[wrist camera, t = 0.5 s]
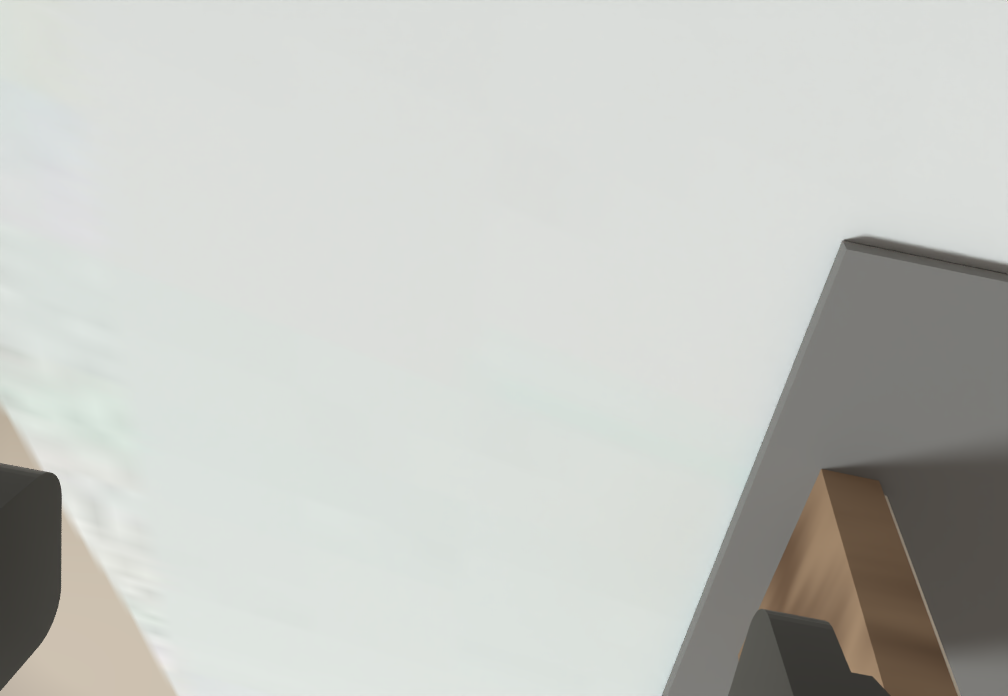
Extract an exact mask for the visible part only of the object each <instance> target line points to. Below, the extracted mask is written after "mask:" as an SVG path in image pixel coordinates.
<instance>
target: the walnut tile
mask: <svg viewBox="0 0 1008 696" xmlns="http://www.w3.org/2000/svg"><path fill="white" fill-rule="evenodd" d="M760 609H766V610H771V611H777V612H782V613H787V614H793V615H798V616H803V617H809V618H814V619H819V620H825V621H827V622H829V623H830V624H831V626H832V628H833V630H834V632H835V634H836V637H837V639H838V642H839V644H840V646H841V649H842V651H843V654H844V656H845V659H846V661H847V663H848V666H849V668H850V671H851V672H852V673H858V674H863V675H868V676H873V677H874V678H875V679H876V681H877V682H878V683H879V684H880V685H881V686H882V687H883V688H884V689H885V690H886V691H887V692H888V693H889V694H890V696H961V695H960V692H959V689H958V687H957V684H956V681H955V679H954V676H953V673H952V670H951V668H950V665H949V662H948V660H947V657H946V654H945V651H944V649H943V646H942V643H941V641H940V638H939V635H938V633H937V630H936V627H935V624H934V622H933V619H932V616H931V614H930V611H929V608H928V605H927V603H926V600H925V597H924V595H923V592H922V589H921V587H920V584H919V581H918V578H917V576H916V573H915V570H914V568H913V565H912V562H911V559H910V557H909V554H908V551H907V549H906V546H905V543H904V541H903V538H902V535H901V532H900V530H899V527H898V524H897V522H896V519H895V516H894V513H893V511H892V508H891V505H890V503H889V500H888V497H887V496H886V495H884V493H883V490H882V487H881V485H880V482H879V481H877V480H873V479H868V478H863V477H858V476H853V475H848V474H844V473H839V472H834V471H829V470H824V469H821V470H820V473H819V475H818V477H817V479H816V482H815V484H814V486H813V488H812V491H811V493H810V495H809V497H808V500H807V502H806V504H805V506H804V508H803V511H802V513H801V515H800V517H799V520H798V522H797V524H796V526H795V529H794V531H793V533H792V535H791V538H790V540H789V542H788V544H787V547H786V549H785V551H784V553H783V556H782V558H781V560H780V562H779V564H778V567H777V569H776V571H775V573H774V576H773V578H772V580H771V582H770V585H769V587H768V589H767V591H766V594H765V596H764V598H763V600H762V603H761V605H760V607H759V609H758V610H760ZM745 639H746V638H745ZM744 642H745V641H744ZM743 646H744V643H743V645H742V647H741V650H740V652H739V654H738V660H739V658H740V655H741V652H742V649H743Z"/></svg>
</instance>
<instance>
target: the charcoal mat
mask: <svg viewBox="0 0 1008 696" xmlns="http://www.w3.org/2000/svg"><path fill="white" fill-rule="evenodd" d="M821 469H824V470H829V471H834V472H839V473H844V474H848V475H853V476H858V477H863V478H868V479H873V480H877V481H879V482H880V485H881V487H882V490H883V493H884V495H886V496H887V497H888V500H889V503H890V505H891V508H892V511H893V513H894V516H895V519H896V522H897V524H898V527H899V530H900V532H901V535H902V538H903V541H904V543H905V546H906V549H907V551H908V554H909V557H910V559H911V562H912V565H913V568H914V570H915V573H916V576H917V578H918V581H919V584H920V587H921V589H922V592H923V595H924V597H925V600H926V603H927V605H928V608H929V611H930V614H931V616H932V619H933V622H934V624H935V627H936V630H937V633H938V635H939V638H940V641H941V643H942V646H943V649H944V651H945V654H946V657H947V660H948V662H949V665H950V668H951V670H952V673H953V676H954V679H955V681H956V684H957V687H958V689H959V692H960V695H961V696H1008V274H1003V273H999V272H994V271H989V270H984V269H979V268H974V267H969V266H964V265H960V264H955V263H950V262H945V261H940V260H935V259H930V258H925V257H920V256H916V255H911V254H906V253H901V252H896V251H891V250H886V249H881V248H876V247H872V246H867V245H862V244H857V243H852V242H847V241H842V243H841V245H840V248H839V251H838V253H837V256H836V258H835V261H834V263H833V266H832V268H831V271H830V273H829V276H828V278H827V281H826V283H825V286H824V288H823V291H822V293H821V296H820V298H819V301H818V303H817V306H816V309H815V311H814V314H813V316H812V319H811V321H810V324H809V326H808V329H807V331H806V334H805V336H804V339H803V341H802V344H801V346H800V349H799V351H798V354H797V356H796V359H795V361H794V364H793V366H792V369H791V372H790V374H789V377H788V379H787V382H786V384H785V387H784V389H783V392H782V394H781V397H780V399H779V402H778V404H777V407H776V409H775V412H774V414H773V417H772V419H771V422H770V424H769V427H768V430H767V432H766V435H765V437H764V440H763V442H762V445H761V447H760V450H759V452H758V455H757V457H756V460H755V462H754V465H753V467H752V470H751V472H750V475H749V477H748V480H747V482H746V485H745V487H744V490H743V493H742V495H741V498H740V500H739V503H738V505H737V508H736V510H735V513H734V515H733V518H732V520H731V523H730V525H729V528H728V530H727V533H726V535H725V538H724V540H723V543H722V545H721V548H720V551H719V553H718V556H717V558H716V561H715V563H714V566H713V568H712V571H711V573H710V576H709V578H708V581H707V583H706V586H705V588H704V591H703V593H702V596H701V598H700V601H699V603H698V606H697V608H696V611H695V614H694V616H693V619H692V621H691V624H690V626H689V629H688V631H687V634H686V636H685V639H684V641H683V644H682V646H681V649H680V651H679V654H678V656H677V659H676V661H675V664H674V666H673V669H672V672H671V674H670V677H669V679H668V682H667V684H666V687H665V689H664V692H663V694H662V696H728V694H729V691H730V688H731V684H732V681H733V678H734V675H735V671H736V668H737V665H738V662H739V660H738V654H739V652H740V650H741V647H742V645H743V643H744V641H745V638H746V636H747V633H748V629H749V626H750V623H751V621H752V619H753V617H754V615H755V613H756V612H757V611H758V609H759V607H760V605H761V603H762V600H763V598H764V596H765V594H766V591H767V589H768V587H769V585H770V582H771V580H772V578H773V576H774V573H775V571H776V569H777V567H778V564H779V562H780V560H781V558H782V556H783V553H784V551H785V549H786V547H787V544H788V542H789V540H790V538H791V535H792V533H793V531H794V529H795V526H796V524H797V522H798V520H799V517H800V515H801V513H802V511H803V508H804V506H805V504H806V502H807V500H808V497H809V495H810V493H811V491H812V488H813V486H814V484H815V482H816V479H817V477H818V475H819V473H820V470H821Z"/></svg>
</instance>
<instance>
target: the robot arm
mask: <svg viewBox="0 0 1008 696" xmlns="http://www.w3.org/2000/svg"><path fill="white" fill-rule="evenodd" d="M61 506H62V495H61V486H60V482H59V479H58V478H57V476H56V475H54V474H53V473H50V472H45V471H39V470H34V469H29V468H23V467H18V466H13V465H7V464H2V463H0V691H1V690H2V688H3V687H4V686H5V685H6V684H7V683H8V681H9V680H10V679H11V678H12V677H13V675H15V673H16V672H17V671H18V670H19V669H20V668H21V666H22V665H23V664H24V663H25V662H26V661H27V659H28V658H29V657H30V656H31V655H32V654H33V652H34V651H35V650H36V649H37V648H38V647H39V645H40V644H41V643H42V641H43V640H44V638H45V637H46V635H47V633H48V631H49V629H50V627H51V625H52V623H53V620H54V617H55V615H56V612H57V608H58V604H59V600H60V593H61ZM728 696H890V694H889V693H888V692H887V691H886V690H885V689H884V688H883V687H882V686H881V685H880V684H879V683H878V682H877V681H876V679H875V678H874V677H873V676H868V675H863V674H858V673H852V672H851V671H850V668H849V666H848V663H847V661H846V659H845V656H844V654H843V651H842V649H841V646H840V644H839V642H838V639H837V637H836V634H835V632H834V630H833V628H832V626H831V624H830V623H829V622H827V621H825V620H819V619H814V618H809V617H803V616H798V615H793V614H787V613H782V612H777V611H771V610H766V609H760V610H758V611H757V612H756V613H755V615H754V617H753V619H752V621H751V623H750V626H749V629H748V633H747V636H746V639H745V642H744V646H743V649H742V652H741V655H740V658H739V662H738V665H737V668H736V671H735V675H734V678H733V681H732V684H731V688H730V691H729V694H728Z"/></svg>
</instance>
